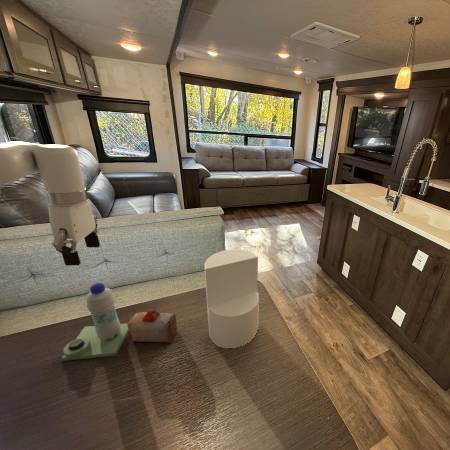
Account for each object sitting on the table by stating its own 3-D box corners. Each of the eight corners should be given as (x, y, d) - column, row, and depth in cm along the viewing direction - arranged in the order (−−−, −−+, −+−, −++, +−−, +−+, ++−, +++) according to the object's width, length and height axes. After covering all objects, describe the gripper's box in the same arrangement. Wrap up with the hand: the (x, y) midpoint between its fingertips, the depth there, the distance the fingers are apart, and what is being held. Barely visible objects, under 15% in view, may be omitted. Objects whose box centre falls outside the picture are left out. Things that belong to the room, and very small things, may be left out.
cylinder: (203, 321, 91) (198, 255, 80) (247, 306, 101) (248, 245, 90) (217, 357, 78) (213, 285, 67) (266, 336, 88) (269, 269, 77)
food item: (127, 344, 79) (121, 321, 76) (141, 325, 87) (136, 303, 83) (170, 346, 80) (167, 323, 77) (180, 327, 88) (177, 305, 84)
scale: (61, 362, 72) (58, 355, 71) (85, 329, 83) (83, 322, 82) (115, 356, 75) (113, 349, 74) (132, 325, 86) (130, 319, 85)
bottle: (118, 323, 85) (106, 275, 77) (125, 334, 82) (113, 285, 74) (94, 334, 80) (78, 284, 73) (100, 346, 77) (85, 295, 69)
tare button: (67, 351, 73) (66, 347, 72) (74, 342, 75) (72, 339, 75) (79, 350, 73) (78, 346, 73) (85, 341, 76) (84, 338, 76)
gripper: (71, 186, 69) (85, 241, 75) (22, 207, 53) (45, 273, 60) (102, 188, 71) (114, 241, 77) (63, 208, 55) (81, 272, 62)
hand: (84, 255), depth 69 cm, fingers open, 9 cm apart
